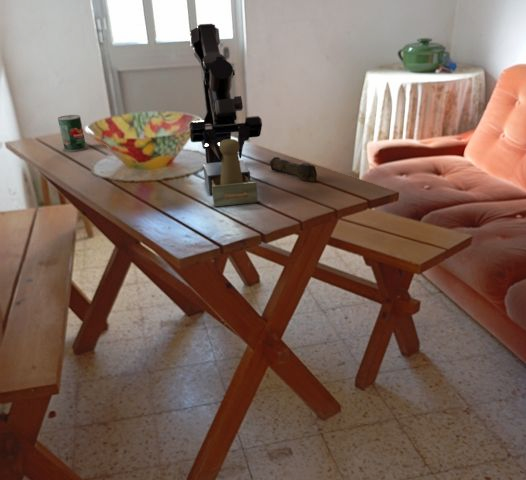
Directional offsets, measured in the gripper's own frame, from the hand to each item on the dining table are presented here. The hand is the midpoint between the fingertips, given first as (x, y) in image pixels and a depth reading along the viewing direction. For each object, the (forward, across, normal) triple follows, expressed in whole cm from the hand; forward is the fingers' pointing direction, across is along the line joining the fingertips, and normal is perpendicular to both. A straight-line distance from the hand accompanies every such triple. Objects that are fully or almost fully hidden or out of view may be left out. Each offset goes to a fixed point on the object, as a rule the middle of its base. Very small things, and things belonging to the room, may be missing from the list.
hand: (230, 158), depth 145 cm
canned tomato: (-45, -48, +62) cm, 90 cm away
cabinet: (0, 0, +16) cm, 16 cm away
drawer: (+8, 0, +7) cm, 11 cm away
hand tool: (-3, +21, +19) cm, 29 cm away
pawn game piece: (+4, 0, +5) cm, 7 cm away
